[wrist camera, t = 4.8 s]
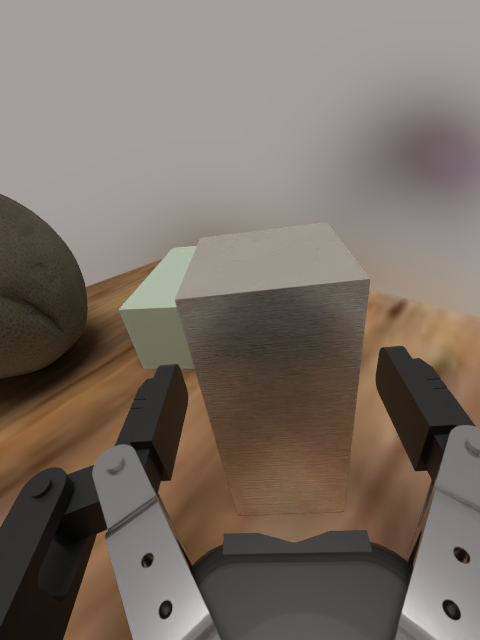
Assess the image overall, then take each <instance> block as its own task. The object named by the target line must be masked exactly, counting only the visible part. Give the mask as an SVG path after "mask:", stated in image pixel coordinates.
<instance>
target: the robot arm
mask: <svg viewBox="0 0 480 640" xmlns="http://www.w3.org/2000/svg"><path fill="white" fill-rule="evenodd" d="M376 386H377V390H378V393H379V395H380V397H381V399H382V401H383V403H384V406H385V408H386V410H387V412H388V414H389V416H390V418H391V421H392V423H393V425H394V427H395V429H396V431H397V433H398V436H399V438H400V440H401V442H402V444H403V446H404V448H405V451H406V453H407V455H408V457H409V459H410V461H411V463H412V466H413V468H414V470H415V471H428V473H429V475H430V477H431V479H432V480H431V482H430V485H429V489H428V492H427V495H426V499H425V502H424V505H423V509H422V512H421V516H420V519H419V522H418V526H417V529H416V532H415V535H414V538H413V541H412V544H411V547H410V550H409V553H408V556H407V560H405V559H404V558H402V557H401V556H399V555H398V554H396V553H395V552H393V551H391V550H389V549H388V548H386V547H384V546H381V545H379V544H376V543H373V542H370V541H369V538H368V534H367V531H366V530H357V531H329V532H326V533H323V534H321V535H318V536H315V537H312V538H309V539H306V540H303V541H300V542H297V543H292V542H288V541H285V540H281V539H277V538H274V537H270V536H267V535H263V534H260V533H237V534H224V541H223V545H221V546H218V547H216V548H214V549H212V550H210V551H209V552H207V553H206V554H205V555H203V556H202V557H201V558H200V559H199V560H197V561H196V562H195V563H194V564H193V563H192V561H191V559H190V557H189V555H188V553H187V551H186V549H185V547H184V545H183V543H182V541H181V539H180V537H179V535H178V533H177V531H176V529H175V527H174V525H173V523H172V521H171V518H170V516H169V514H168V512H167V510H166V508H165V506H164V504H163V502H162V500H161V497H160V495H159V493H158V490H159V486H160V482H161V481H171V477H172V473H173V468H174V464H175V459H176V455H177V450H178V446H179V441H180V437H181V432H182V428H183V423H184V419H185V414H186V410H187V405H188V392H187V388H186V385H185V382H184V379H183V375H182V372H181V369H180V367H179V365H178V364H170V365H160V366H159V367H158V368H157V371H156V374H155V376H154V378H152V379H147V380H146V381H145V382H144V383H143V384H142V385H141V387H140V388H139V389H138V391H137V394H136V396H135V398H134V402H133V403H132V406H131V408H130V409H131V410H130V411H129V413H128V415H127V418H126V420H125V422H124V425H123V427H122V430H121V432H120V434H119V437H118V439H117V442H116V444H115V446H114V447H112V448H110V449H108V450H107V451H105V452H104V453H103V454H102V455H101V456H100V457H99V458H98V460H97V461H96V463H95V465H92V466H90V467H87V468H84V469H82V470H79V471H76V472H73V473H71V474H68V475H67V474H66V473H65V471H64V470H62V469H61V468H57V467H56V468H49V469H46V470H44V471H41V472H40V473H38V474H37V475H35V476H34V477H33V478H31V479H30V480H29V481H28V482H27V483H26V485H25V486H24V487H23V489H22V490H21V492H20V494H19V495H18V497H17V499H16V501H15V502H14V504H13V506H12V508H11V509H10V511H9V513H8V515H7V517H6V518H5V520H4V522H3V524H2V525H1V527H0V640H63V638H64V635H65V632H66V629H67V625H68V622H69V619H70V616H71V613H72V610H73V607H74V604H75V601H76V597H77V594H78V591H79V588H80V585H81V582H82V579H83V576H84V573H85V569H86V566H87V563H88V560H89V557H90V554H91V551H92V548H93V545H94V541H95V538H96V535H97V533H99V532H102V531H104V530H107V529H108V532H107V533H106V535H105V538H106V544H107V548H108V551H109V555H110V558H111V562H112V566H113V569H114V573H115V576H116V580H117V584H118V587H119V591H120V594H121V598H122V602H123V605H124V609H125V612H126V616H127V620H128V623H129V627H130V630H131V634H132V638H133V640H480V428H479V427H476V426H475V425H474V423H473V422H472V421H471V419H470V418H469V417H468V415H467V414H466V412H465V411H464V410H463V408H462V407H461V406H460V404H459V403H458V402H457V400H456V399H455V397H454V396H453V395H452V393H451V392H450V391H449V390H448V389H447V387H446V385H445V384H444V382H443V381H441V379H440V377H439V376H438V374H437V373H436V371H435V370H434V369H433V367H431V366H430V365H428V364H427V363H426V362H424V361H423V360H421V359H420V358H416V359H412V358H411V356H410V355H409V353H408V352H407V350H406V349H405V347H403V346H395V347H383V348H381V349H380V352H379V358H378V364H377V371H376Z"/></svg>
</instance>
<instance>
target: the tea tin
mask: <svg viewBox="0 0 480 640" xmlns="http://www.w3.org/2000/svg"><path fill="white" fill-rule="evenodd" d="M369 285H370V278H369V277H368V275H367V274H366V273H365V271H364V270H363V269H362V267H361V266H360V265H359V264H358V262H357V261H356V259H355V258H354V257H353V256H352V255H351V253H350V252H349V250H348V249H347V248H346V246H345V245H344V244H343V242H342V241H341V240H340V239H339V237H338V236H337V235H336V233H335V232H334V231H333V230H332V228H331V227H330V225H329V224H328V223H327V222H323V223H315V224H307V225H299V226H291V227H284V228H275V229H268V230H260V231H252V232H244V233H236V234H228V235H220V236H212V237H204V238H200V240H199V243H198V245H197V247H196V250H195V252H194V254H193V257H192V259H191V262H190V264H189V266H188V269H187V271H186V274H185V276H184V278H183V281H182V283H181V286H180V288H179V290H178V293H177V295H176V297H175V303H176V306H177V310H178V313H179V317H180V320H181V323H182V327H183V330H184V334H185V337H186V341H187V344H188V347H189V351H190V354H191V358H192V361H193V365H194V368H195V371H196V375H197V378H198V382H199V385H200V389H201V392H202V395H203V399H204V402H205V406H206V409H207V413H208V416H209V419H210V423H211V426H212V430H213V433H214V437H215V440H216V443H217V447H218V450H219V454H220V457H221V461H222V464H223V467H224V471H225V474H226V478H227V481H228V485H229V488H230V491H231V495H232V498H233V502H234V505H235V509H236V512H237V515H267V514H295V513H323V512H344V507H345V498H346V490H347V481H348V472H349V463H350V454H351V445H352V436H353V427H354V418H355V409H356V401H357V392H358V383H359V374H360V365H361V356H362V347H363V338H364V329H365V320H366V312H367V303H368V294H369Z"/></svg>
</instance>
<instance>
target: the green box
mask: <svg viewBox="0 0 480 640" xmlns="http://www.w3.org/2000/svg"><path fill="white" fill-rule="evenodd" d="M196 247H197V246H191V247H179V248H172V250H171V251H170V252H169V253H168V254H167V255H166V256H165V258H164V259H163V260H162V261H161V262H160V263H159V264H158V265H157V267H156V268H155V269H154V270H153V271H152V272H151V273H150V275H149V276H148V277H147V278H146V279H145V280H144V281H143V282H142V284H141V285H140V286H139V287H138V288H137V289H136V290H135V292H134V293H133V294H132V295H131V296H130V297H129V298H128V299H127V301H126V302H125V303H124V304H123V305H122V306H121V307H120V309H119V312H120V314H121V317H122V319H123V322H124V324H125V326H126V329H127V331H128V334H129V336H130V338H131V341H132V343H133V345H134V348H135V350H136V353H137V355H138V357H139V360H140V362H141V364H142V367H143V369H157V368H158V367H159V366H160V365H170V364H178V365H179V367H180V369H195V368H194V365H193V361H192V358H191V354H190V351H189V347H188V344H187V341H186V337H185V334H184V330H183V327H182V323H181V320H180V317H179V313H178V310H177V306H176V303H175V297H176V295H177V293H178V290H179V288H180V286H181V283H182V281H183V278H184V276H185V274H186V271H187V269H188V266H189V264H190V262H191V259H192V257H193V254H194V252H195V250H196Z"/></svg>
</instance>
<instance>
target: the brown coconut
mask: <svg viewBox="0 0 480 640" xmlns="http://www.w3.org/2000/svg"><path fill="white" fill-rule="evenodd" d="M87 308H88V307H87V294H86V287H85V282H84V279H83V276H82V273H81V270H80V268H79V265H78V263H77V261H76V259H75V258H74V256H73V254H72V252H71V251H70V249H69V248H68V246H67V245H66V244H65V242H64V241H63V240H62V239H61V237H59V235H58V234H57V233H56V232H55V231H54V230H53V229H52V228H51V227H50V226H49V225H48V224H47V223H46V222H45V221H44V220H42V219H41V218H40V217H39V216H38V215H36V214H35V213H34V212H32V211H31V210H29V209H28V208H26V207H24V206H23V205H21V204H19V203H18V202H16V201H14V200H12V199H10V198H8V197H6V196H4V195H1V194H0V378H6V377H13V376H18V375H22V374H28V373H31V372H35V371H38V370H40V369H42V368H44V367H47V366H48V365H50V364H51V363H53V362H54V361H56V360H57V359H58V358H59V357H60V356H62V355H63V354H64V353H65V352H66V351H67V350H68V349H69V348H70V347H71V346H72V345H73V344H74V343H75V342H76V341H77V340H78V339H79V338H80V336H81V335H82V332H83V330H84V328H85V324H86V319H87Z"/></svg>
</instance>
